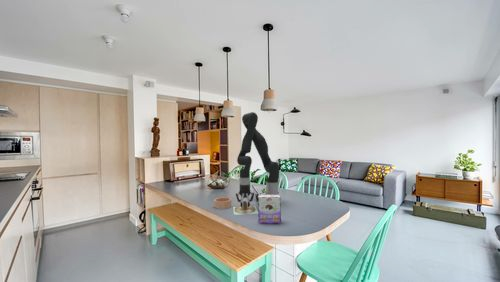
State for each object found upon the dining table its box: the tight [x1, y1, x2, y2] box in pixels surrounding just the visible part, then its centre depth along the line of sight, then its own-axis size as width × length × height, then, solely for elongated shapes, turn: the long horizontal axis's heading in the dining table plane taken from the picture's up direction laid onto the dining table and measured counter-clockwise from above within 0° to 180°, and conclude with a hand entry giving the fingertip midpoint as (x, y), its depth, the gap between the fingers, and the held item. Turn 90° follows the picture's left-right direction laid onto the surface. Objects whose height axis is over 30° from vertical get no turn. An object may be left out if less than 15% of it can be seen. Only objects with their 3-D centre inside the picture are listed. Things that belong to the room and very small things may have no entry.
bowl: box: [213, 196, 232, 210], centre depth 163 cm, size 13×13×6 cm
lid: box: [235, 200, 257, 215], centre depth 154 cm, size 15×15×6 cm
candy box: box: [257, 194, 282, 224], centre depth 133 cm, size 14×6×16 cm, turn 84°
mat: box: [232, 205, 258, 216], centre depth 154 cm, size 17×17×1 cm
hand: (245, 207), depth 154 cm, fingers open, 4 cm apart
